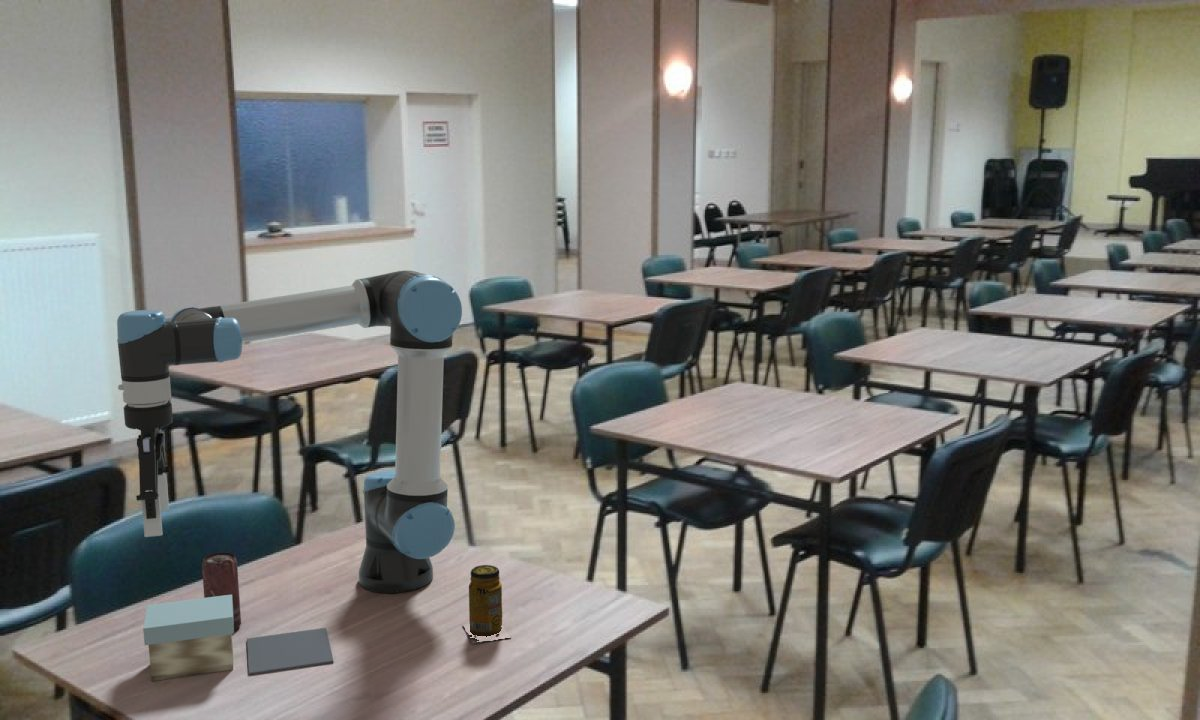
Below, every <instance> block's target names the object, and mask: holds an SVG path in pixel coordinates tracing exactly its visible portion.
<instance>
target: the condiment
mask: <svg viewBox="0 0 1200 720" xmlns="http://www.w3.org/2000/svg"><path fill="white" fill-rule="evenodd" d="M502 590H503V587H502V583H501V581H500V569H499V568H498V567H497V566H496V565H490V564H481V565H477V566H474V567H473V568H471V570H470V583H469V584H468V607H469V609H468V613H469V614H468V615H469V616H468V617H469V619H468V620H469V624H470V632H471V633H472V634H473V635H477V636H486V637H487V636H491V635H494V634H497V633H499V632H500V631H501V629H502V627H501V626H502V625H503V599H502V598H503V597H502V596H503V591H502ZM466 635H467V636H468V638H469V640H470V642H471V644H482V642H480V643H478V642H477V641H479V640H477V639H475V638H470V637H472V635H468V634H466Z"/></svg>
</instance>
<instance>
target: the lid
mask: <svg viewBox="0 0 1200 720" xmlns="http://www.w3.org/2000/svg"><path fill="white" fill-rule="evenodd" d="M143 623H144V624H143V629H142V630H143V632H142V633H143V639H144V642H143V643H144V646H149V645H152V644H160V643H167V642H174V641H182V640H189V639H197V638H204V637H211V636H219V635H226V634H232V635H233V634H234V633H235V631H234V623H233V601H232V595H224V596H216V597H208V598H204V597H201V598H193V599H185V600H176V601H170V602H169V601H168V602H160V603H154V604H152V603H151V604H146V610H145V616H144V621H143Z"/></svg>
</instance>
